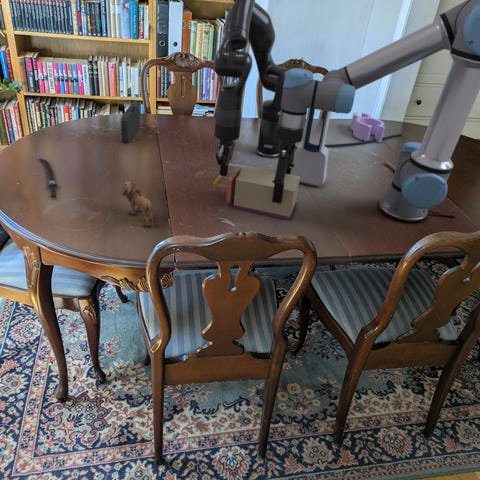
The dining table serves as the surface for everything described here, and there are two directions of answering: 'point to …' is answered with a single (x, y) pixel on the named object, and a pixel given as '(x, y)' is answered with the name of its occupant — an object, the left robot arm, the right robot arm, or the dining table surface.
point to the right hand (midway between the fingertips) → (280, 193)
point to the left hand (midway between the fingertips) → (223, 175)
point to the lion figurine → (137, 201)
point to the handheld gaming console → (130, 121)
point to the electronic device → (312, 154)
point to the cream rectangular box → (265, 192)
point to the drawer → (230, 184)
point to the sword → (52, 181)
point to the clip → (367, 127)
